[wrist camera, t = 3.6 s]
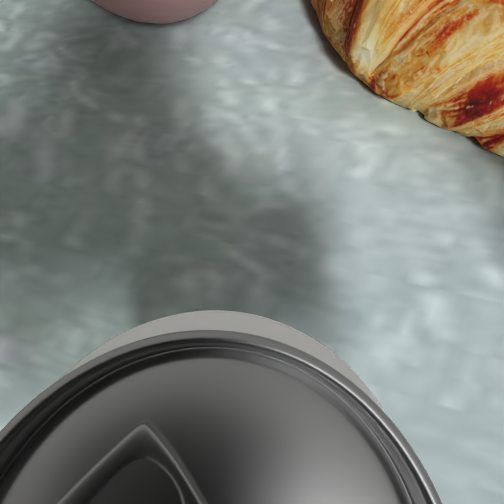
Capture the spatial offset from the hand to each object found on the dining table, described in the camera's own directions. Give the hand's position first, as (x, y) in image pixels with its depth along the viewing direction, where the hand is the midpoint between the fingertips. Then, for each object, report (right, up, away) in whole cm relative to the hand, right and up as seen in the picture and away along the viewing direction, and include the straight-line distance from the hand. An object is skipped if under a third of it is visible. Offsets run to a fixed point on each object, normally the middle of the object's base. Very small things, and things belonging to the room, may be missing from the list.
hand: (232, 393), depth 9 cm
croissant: (+10, +16, +12) cm, 23 cm away
